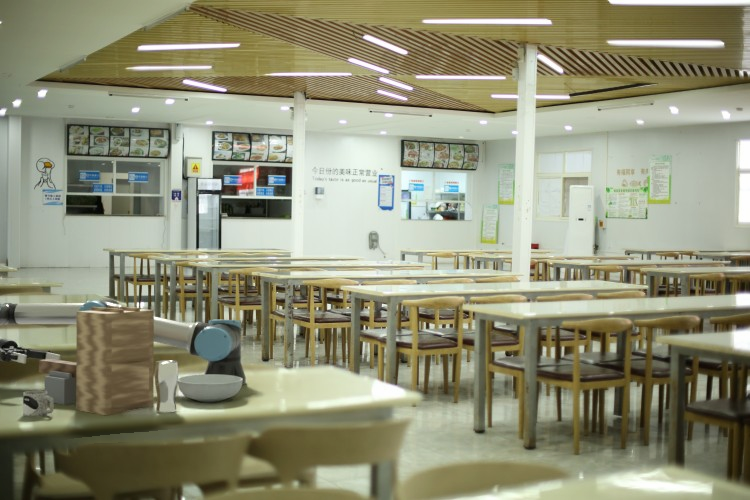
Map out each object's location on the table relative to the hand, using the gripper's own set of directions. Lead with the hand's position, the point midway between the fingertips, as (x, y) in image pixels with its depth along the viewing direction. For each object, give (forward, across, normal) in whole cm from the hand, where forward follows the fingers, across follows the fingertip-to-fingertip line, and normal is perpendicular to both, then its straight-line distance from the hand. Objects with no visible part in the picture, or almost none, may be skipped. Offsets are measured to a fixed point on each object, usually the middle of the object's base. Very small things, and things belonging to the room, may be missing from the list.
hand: (42, 359), depth 296 cm
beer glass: (+55, -4, -7) cm, 55 cm away
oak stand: (+38, +1, -9) cm, 39 cm away
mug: (+28, +21, -12) cm, 37 cm away
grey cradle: (+16, 0, -11) cm, 19 cm away
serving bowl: (+52, -26, -5) cm, 58 cm away
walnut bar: (+14, +1, -3) cm, 14 cm away
